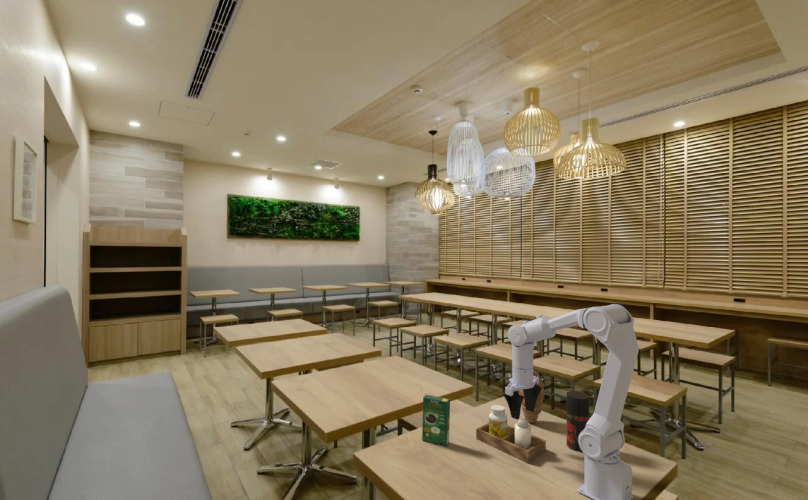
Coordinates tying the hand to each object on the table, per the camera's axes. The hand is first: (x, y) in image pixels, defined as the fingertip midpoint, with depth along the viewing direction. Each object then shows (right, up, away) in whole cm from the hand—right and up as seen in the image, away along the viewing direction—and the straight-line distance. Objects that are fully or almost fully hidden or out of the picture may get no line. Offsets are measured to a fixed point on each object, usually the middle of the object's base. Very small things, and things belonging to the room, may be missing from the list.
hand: (522, 414), depth 106 cm
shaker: (0, -10, 0) cm, 10 cm away
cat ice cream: (+9, -11, +18) cm, 22 cm away
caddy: (-3, -10, +3) cm, 11 cm away
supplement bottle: (-5, -11, +6) cm, 13 cm away
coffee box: (-24, -10, +5) cm, 27 cm away
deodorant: (+17, -11, +2) cm, 20 cm away
